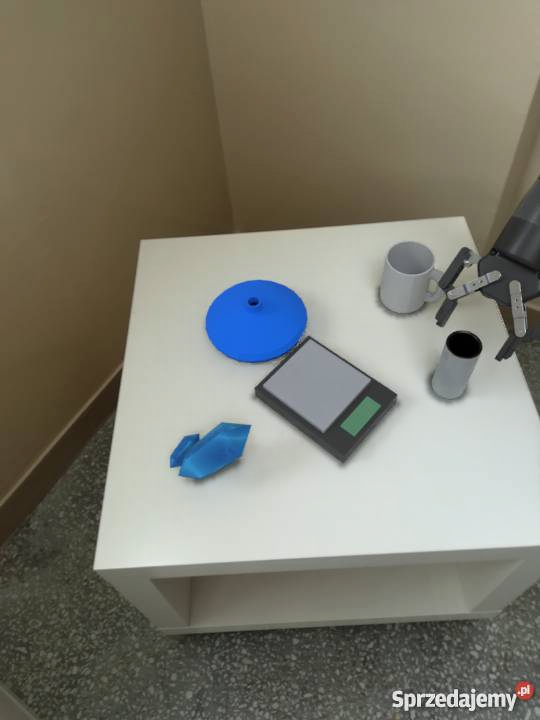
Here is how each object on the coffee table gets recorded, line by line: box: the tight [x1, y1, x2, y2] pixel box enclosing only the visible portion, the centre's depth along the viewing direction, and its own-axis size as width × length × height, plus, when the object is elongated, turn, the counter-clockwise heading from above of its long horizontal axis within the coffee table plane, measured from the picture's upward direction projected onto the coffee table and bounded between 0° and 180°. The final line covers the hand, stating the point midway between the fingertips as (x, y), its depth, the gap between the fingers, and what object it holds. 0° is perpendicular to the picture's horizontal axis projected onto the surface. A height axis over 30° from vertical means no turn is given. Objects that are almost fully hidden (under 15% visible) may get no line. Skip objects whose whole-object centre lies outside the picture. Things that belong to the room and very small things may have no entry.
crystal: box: [169, 421, 252, 480], centre depth 69 cm, size 7×9×12 cm
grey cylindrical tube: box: [431, 329, 484, 400], centre depth 72 cm, size 4×4×10 cm
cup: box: [379, 240, 446, 314], centre depth 81 cm, size 7×10×9 cm
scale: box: [254, 335, 398, 464], centre depth 75 cm, size 16×12×3 cm
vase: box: [205, 279, 308, 364], centre depth 81 cm, size 16×16×7 cm
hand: (467, 342), depth 69 cm, fingers open, 8 cm apart
